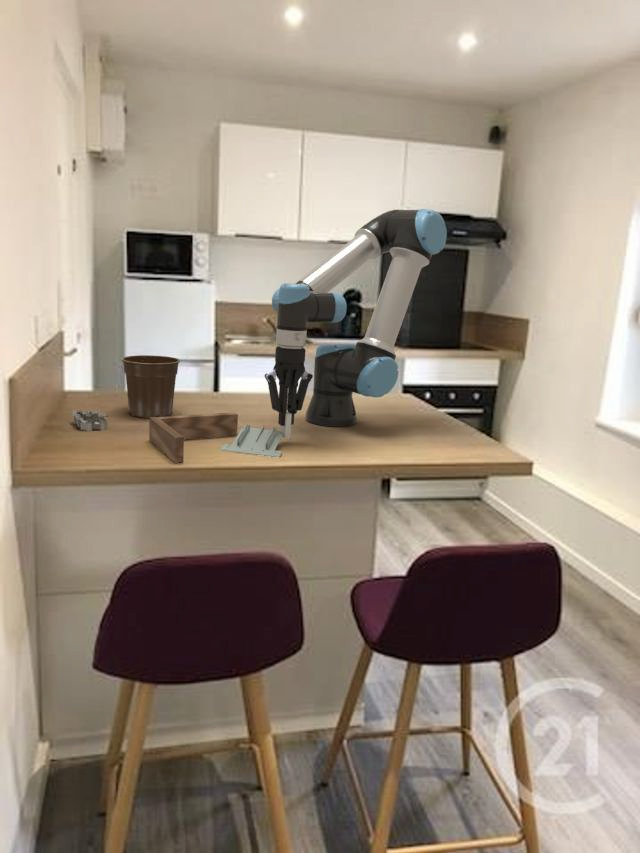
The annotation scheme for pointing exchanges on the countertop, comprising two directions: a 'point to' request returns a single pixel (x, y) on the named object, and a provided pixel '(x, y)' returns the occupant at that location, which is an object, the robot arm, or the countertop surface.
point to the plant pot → (150, 384)
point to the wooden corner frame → (189, 431)
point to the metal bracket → (256, 442)
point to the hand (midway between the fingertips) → (285, 437)
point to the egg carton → (90, 420)
